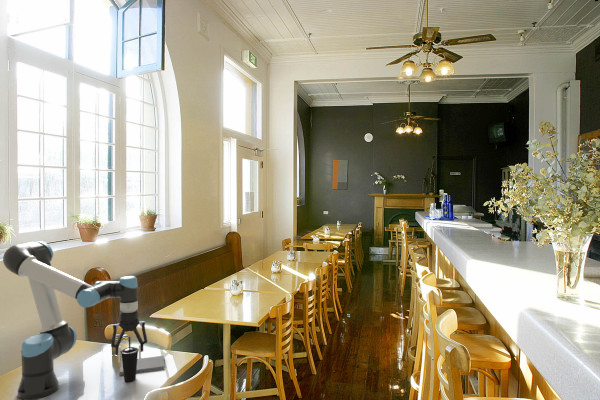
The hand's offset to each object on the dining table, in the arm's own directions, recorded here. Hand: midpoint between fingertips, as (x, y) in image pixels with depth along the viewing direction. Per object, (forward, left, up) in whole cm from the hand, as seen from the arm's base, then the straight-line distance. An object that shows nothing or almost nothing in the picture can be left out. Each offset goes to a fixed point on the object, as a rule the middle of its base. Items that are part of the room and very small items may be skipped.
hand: (129, 359), depth 195 cm
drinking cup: (0, 0, -9) cm, 9 cm away
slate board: (+5, +14, -9) cm, 17 cm away
